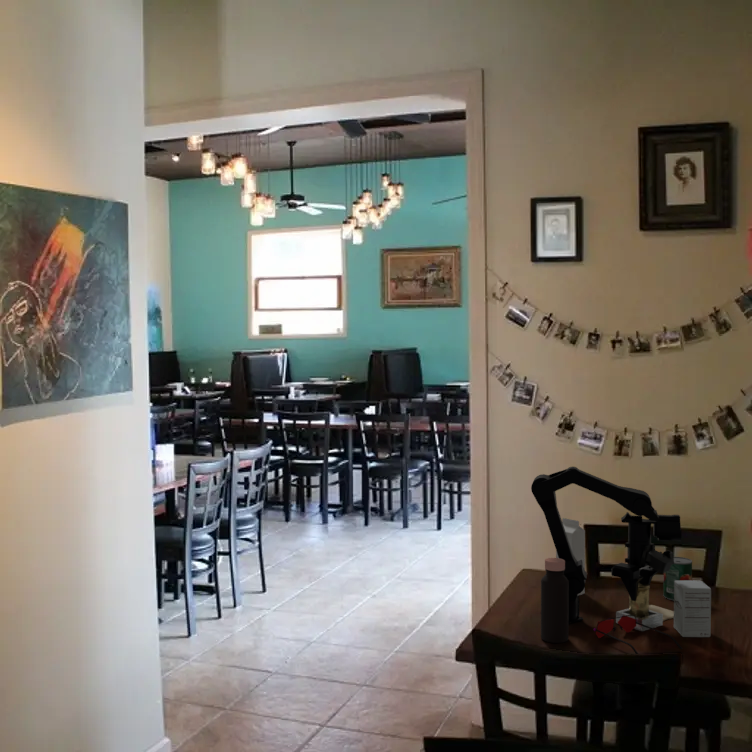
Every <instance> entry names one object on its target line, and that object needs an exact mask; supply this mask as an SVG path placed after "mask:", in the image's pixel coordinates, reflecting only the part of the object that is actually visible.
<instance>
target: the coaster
mask: <svg viewBox="0 0 752 752" xmlns="http://www.w3.org/2000/svg"><path fill="white" fill-rule="evenodd" d="M649 610H651V611H655V612H658V613H661V614H663V622H664V621H667V620H671V619H674V610H671V609H667V608H664V607H661V606H658V605H654V604H649Z"/></svg>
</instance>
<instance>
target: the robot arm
mask: <svg viewBox="0 0 752 752" xmlns="http://www.w3.org/2000/svg"><path fill="white" fill-rule="evenodd" d="M573 484H574V485H575V486H576V485H577V486H578V487H582V488H583V489H585V490H588V491H590V492H592V493H596V494H598V495H600V496H602V497H605V498H607V499H610V500H612V501H615V502H616V503H617V504H619V505H620V506H621V507H623V508H624V509H626V510H627V512H626V513H625V514H624V515H623V516H622V517H621V518H620V519H621V520H620V521H621V523H625V524H628V525H627V526H628V527H627V529H628V530H627V531H628V533H627V534H628V535H627V536H628V539H627V542H625V543H624V547H625V548H627V556H628V557H626V558H624V563H623V562H620V563H616V564H614V565H613V566H612V567H611V572H610V573H611V576H612V577H616V578H620V579H621V582H622V583H623V585H624V587H625V589H626V591H627V593H628V596H629V595H630V598H631V600H633V601H636V598H637V592H638V583H645V584H648V585H650V586H651V582H652V580H653V577H654V576H655V575H656V574H658V573H659V574H663V575H664V573H665V572H667V571H669V570H670V567H671V565H673V564H674V557H675V556H674V552H673V551H672V550H670V549H667V550H665V551H663V552H662V551H658V550H656V544H655V543H654V542H653V543H652V529H653V537H656V539H657V541H658V542H659V541H661V542H663V541H664V542H682V525H681V516H680V515H679V514H671V515H670V514H659V513H658V512H657V510H656V509H655V508H654V507H653V504H652V499H651V497H650V495H649V493H648V492H646V491H645V490H640V489H637V488H633V487H627V486H626V487H625V486H622V485H619V484H615V483H612V482H610V481H608V480H605V479H603V478H601V477H599V476H595V475H594V474H591V473H589V472H586V471H583V470H582V469H579V468H578V467H577V466H570V467H568V468H565V469H563V470H560V471H557V472H553V473H551V474H544V473H542V474H538V475H537V476H536V477H534V479H533V481H532V483H531V487H530V489H531V493H532V495H533V497H534V498H535V500H536V502H537V504H538V506H539V507H540V509H541V510H542V512H543V514H544V517H545V521H546V523H547V526H548V529H549V532H550V535H551V538H552V541H553V544H554V548H555V552H556V551H557V554H558V557H559V558H560V559H563V560H565V571H564V576H565V577H566V578H567V579H568V581H569V624H572V623H573V624H574V623H576V622H579V621H583V620H584V617H582V616H580V600H579V599H580V597H579V596H580V595H579V596H578V594H579V593H581V592H582V591H583V590H584V588H585V587H586V581H587V580H588V578H587V577H588V574H587V571H586V569H585V570H584V568H583V562H582V560H580V561H577V560H576V559H575V557H574V555H573V553H572V550H571V547H570V544H569V541H568V538H567V535H566V532H565V529H564V526H563V523H562V517H561V514H560V511H559V508H558V504H557V503H558V502H557V494H556V492H557V491H559V490H561V489H564V488H566V487H568V486H570V485H573ZM628 511H629V512H630V513H629V512H628ZM631 513H633V514H634V515H632V514H631ZM643 517H645V518H643ZM652 526H653V528H652Z"/></svg>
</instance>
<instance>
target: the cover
mask: <svg viewBox="0 0 752 752" xmlns="http://www.w3.org/2000/svg"><path fill="white" fill-rule="evenodd" d="M650 589H651V584H650V585H648V584H645V583H638V592H637V598H636V601H633V600H631V598H630V595H629V594H628V599H629V600H628V608H629V614H630V615H634V616H636V617H640V618H643V617H647V616H649V605H650Z"/></svg>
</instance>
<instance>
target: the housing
mask: <svg viewBox="0 0 752 752" xmlns="http://www.w3.org/2000/svg"><path fill="white" fill-rule="evenodd" d="M623 615H624V616H626V615H630V614H629V607H627V608H625V609H621V610H617V611H615V618H616V617H621V616H623ZM628 617H631V618H634V619H635V617H636V616H635V617H634V616H628ZM620 619H621V618H616V619H615V623H616V624H618V623H617V622H618V621H619V620H620ZM636 619H637V622H638V623H641V624H643V625H646V626H648V627H651V628H653V629H655V628H658V627H661V626H664V625H663V623H664V621H663V614H661V613H658V612H655V611H651V610H649V616H647V617H643V618H640V617H636ZM633 630H635V631H639V632H645V631H648V630H650V629H649V628H646V627H644V626H641V625H639V624H636V627H635V628H634V629H633Z"/></svg>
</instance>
